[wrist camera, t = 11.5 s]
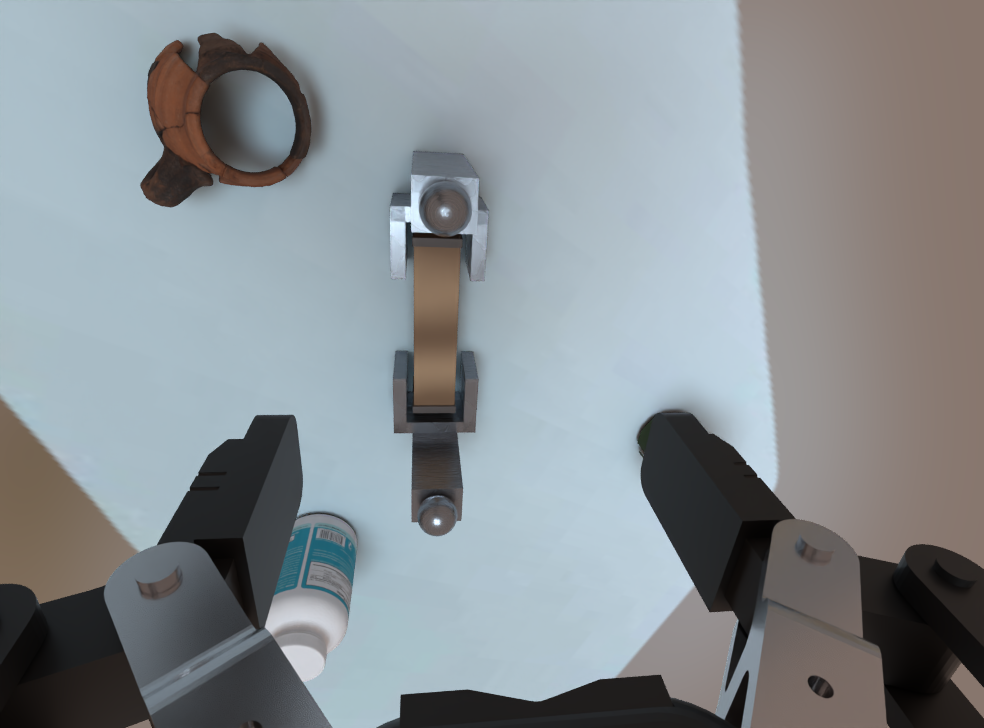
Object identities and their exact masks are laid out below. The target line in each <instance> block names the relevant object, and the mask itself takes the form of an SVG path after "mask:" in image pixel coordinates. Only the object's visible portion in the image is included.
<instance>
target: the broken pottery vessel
mask: <svg viewBox="0 0 984 728" xmlns="http://www.w3.org/2000/svg"><path fill="white" fill-rule="evenodd" d="M198 42H199V44H200V49H199V60H198V66H197V71H196V72H195V71H193V70H192V69H191V68H190V67H189V66H188V65H187V64H186V63H185V62H184V61H183V60H182V59H181V57H180V56H179V55H178V53H180V52H181V51H182V49H183V45H182V43H181V42H180V41H179V40H176V41H174V42H172V43H171V44H169V45H167V46H166V47H165V48H164V49H163V51H162V52H161V53H160V54H159V55H158V56H157V57H156V59H155V62H154V63H153V64H152V65H151V67H150V70H149V73H148V82H147V98H148V104H149V111H150V116H151V120H152V123H153V126H154V129H155V131H156V133H157V135H158V137H159V138H160V140H161V142H162V144H163V145H164V151H163V155H162V157H161V159H160V160H159V161H158V162H157V164H156V165H155V166H154V167H153V168H152V169H151V170H150V171H149V172H148V174H147V175H146V176H145V178H144V179H143V181H142V182H141V184H140V186H141V189H142V190H143V193H144V195H145V196H146V198H147V199H149V200H150V201H152V202H154V203H155V204H158V205H160V206H165V207H174V206H177V205H178V204H180V203H181V202H182V201H184V200H185V199H186V198H188V197H189V196H190V195H191V194H192V193H193V192H194V191H195V190H196V189H197V188H199V187H202V186H212V185H213V179H212V177H211V175H210V174H211V173H213V174H216V175H219V182H220V183H224V184H229V185H235V186H250V187H263V186H270V185H273V184H275V183H277V182H280V181H282V180H284V179H285V178H286V177H288V176H290V175H291V174H292V173H293V172H294V171H295V169H296V168H297V167H298V166H299V164H300V163H301V161H302V159H303V158H305V157H306V155H307V152H308V148H309V145H310V136H311V119H310V115H309V109H308V105H307V102H306V98H305V96H304V94H302V93H301V91H300V87H299V84H298V82H297V80H296V79H295V77H294V76H293V75H292V73H291V72H290V71H289V70H288V69H287V68H286V67H285V66H284V65H283V64H282V63H281V62H280V60H279V59H278V58H277V57H276V56H275V55H274V54H273V53H272V51H271V50H270V49H269V48H268V47H267V46H265V45H264V44H263V43H262V42H261V43H260V44H259V46H258V47H257V48H256V49H255V51H254V52H252V53H251V54H247V53H246V52H245V51H244V50H243V48H242V47H241V46H240V45H238V44H237V43H235V42H234V41H232V40H229V39H224V38H222V37H221V36H220V35H218V34H216V33H209V34H204V35H201V36H199V37H198ZM236 70H251V71H257V72H259V73H261V74H264V75H265V76H267V77H269V78H270V79H272V80H273V81H274V82H275V83H277V84H278V85H279V86H280V88H281V89H282V90H283V91H284V93H285V94H286V95H287V97H288V99H289V101H290V103H291V105H292V108H293V112H294V116H295V122H296V133H295V138H294V142H293V146H292V149H291V151H290V155H289V156H288V158H287V159H286V160H285V161H284V162H283V163H282V164H281V165H279V166H278V167H273V168H271V169H269V170H266V171H262V172H244V171H240V170H237V169H235V168H233V167H231V166H229V165H227V164H225V163H224V162H223V161H221V160H220V159H219V158H218V157H217V156H216V155H215V154H214V152H213V151H212V150H211V148H210V147H209V145H208V144H207V142H206V140H205V137H204V134H203V131H202V128H201V121H200V112H201V104H202V101H203V98H204V95H205V93H206V91H207V90H208V88H209V86H210V84H211V83H212V82H213V81H214V80H216V79H217V78H218V77H220V76H221V75H223V74H225V73H227V72H230V71H236ZM209 173H210V174H209Z"/></svg>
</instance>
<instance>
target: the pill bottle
mask: <svg viewBox="0 0 984 728" xmlns="http://www.w3.org/2000/svg"><path fill="white" fill-rule="evenodd" d="M356 551H357V538H356V535H355V533H354V531H353V529H352V528H351V527H350V526H349V525H348V524H347V523H346V522H345V521H343V520H341V519H339V518H337V517H334V516H331V515H325V514H313V515H308V516H304V517H301V518H299V519H297V520H295V524H294V527H293V530H292V534H291V537H290V541H289V544H288V548H287V551H286V555H285V558H284V562H283V565H282V569H281V572H280V576H279V579H278V583H277V586H276V590H275V593H274V597H273V600H272V604H271V607H270V611H269V614H268V618H267V621H266V625H265V628H266V629H267V630H268V631H269V632H270V633H271V635H272V636H273V637H274V639H275V640H276V642H277V643H278V645H279V647H280V648H281V650H282V651H283V653H284V654H285V656H286V657H287V659H288V660H289V662H290V663H291V665H292V666H293V668H294V670H295V671H296V673H297V674H298V676H299V677H300V679H301V680H302V682H305V681H308V680H311V679H313V678H315V677H317V676H318V675H319V674H320V673H321V672H322V671H323V669H324V667H325V662H326V656H327V654H328V653H329V652H331V651H332V650H333V649H335V648H336V647H337V646H338V645H339V644H340V642H341V641H342V639H343V638H344V636H345V633H346V630H347V625H348V618H349V610H350V602H351V594H352V586H353V577H354V569H355V561H356Z"/></svg>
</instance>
